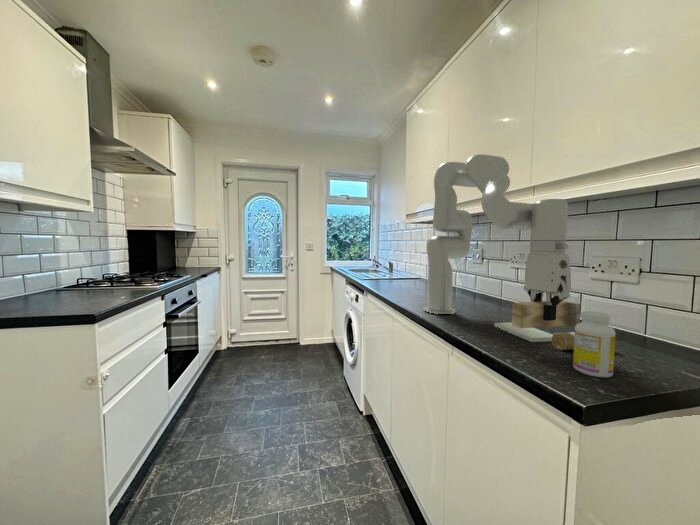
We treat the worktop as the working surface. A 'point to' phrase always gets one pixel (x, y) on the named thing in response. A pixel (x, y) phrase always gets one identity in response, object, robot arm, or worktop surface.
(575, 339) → the supplement bottle
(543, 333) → the board
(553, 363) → the worktop surface
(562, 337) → the sprinkles bottle
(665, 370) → the worktop surface
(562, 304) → the light brown wooden block
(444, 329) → the worktop surface
